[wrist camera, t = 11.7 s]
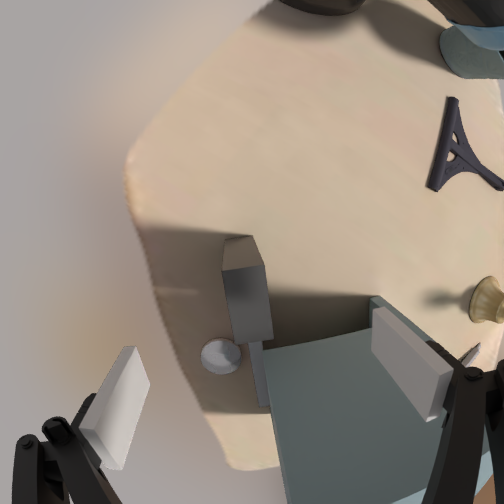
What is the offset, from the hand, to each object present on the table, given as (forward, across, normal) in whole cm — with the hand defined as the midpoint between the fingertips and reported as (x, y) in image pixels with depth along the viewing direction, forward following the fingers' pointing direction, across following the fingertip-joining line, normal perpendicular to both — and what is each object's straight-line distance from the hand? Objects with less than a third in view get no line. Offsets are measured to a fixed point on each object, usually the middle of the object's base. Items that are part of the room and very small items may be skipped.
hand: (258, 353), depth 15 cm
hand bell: (+19, +38, -13) cm, 45 cm away
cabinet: (+18, +8, -15) cm, 25 cm away
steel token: (+19, -5, -11) cm, 22 cm away
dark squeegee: (+20, +34, +9) cm, 41 cm away
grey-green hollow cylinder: (+18, +36, +26) cm, 48 cm away
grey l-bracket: (+18, 0, -7) cm, 20 cm away
